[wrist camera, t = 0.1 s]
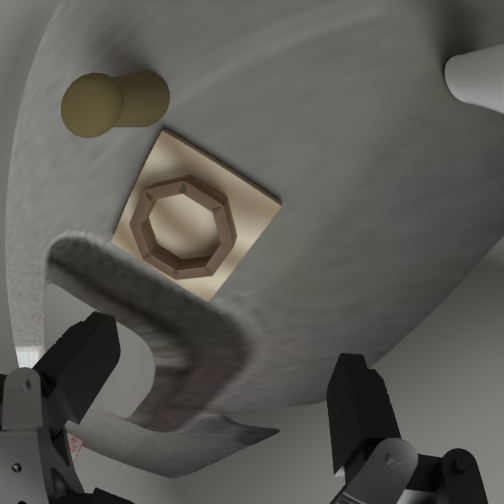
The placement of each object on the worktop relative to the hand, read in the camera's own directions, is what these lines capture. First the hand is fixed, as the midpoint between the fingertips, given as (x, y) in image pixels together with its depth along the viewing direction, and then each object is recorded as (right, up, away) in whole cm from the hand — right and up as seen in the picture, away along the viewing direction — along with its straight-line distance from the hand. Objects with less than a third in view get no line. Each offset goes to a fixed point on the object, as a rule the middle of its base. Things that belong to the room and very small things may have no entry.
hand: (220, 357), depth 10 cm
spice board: (-6, +7, +23) cm, 24 cm away
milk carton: (-64, -65, +70) cm, 115 cm away
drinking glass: (+23, +22, +11) cm, 33 cm away
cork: (-10, +19, +17) cm, 27 cm away
